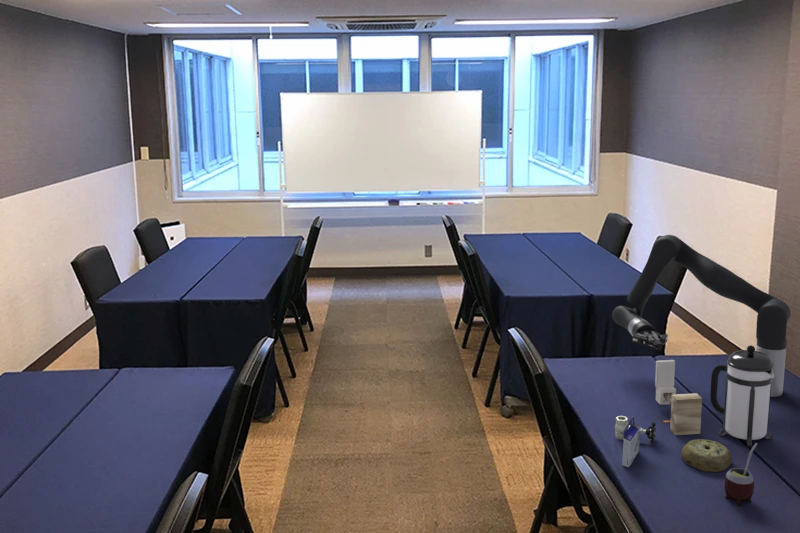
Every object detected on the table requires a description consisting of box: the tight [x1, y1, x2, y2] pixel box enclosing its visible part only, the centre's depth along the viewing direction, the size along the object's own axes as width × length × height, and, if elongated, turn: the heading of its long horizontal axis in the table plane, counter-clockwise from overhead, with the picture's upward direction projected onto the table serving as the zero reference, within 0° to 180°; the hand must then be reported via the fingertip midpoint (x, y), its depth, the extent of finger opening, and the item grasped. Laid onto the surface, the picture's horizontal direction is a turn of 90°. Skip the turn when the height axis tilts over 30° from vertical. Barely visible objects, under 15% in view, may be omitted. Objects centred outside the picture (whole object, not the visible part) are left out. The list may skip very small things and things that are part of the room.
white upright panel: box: [654, 359, 677, 406], centre depth 245 cm, size 4×6×14 cm, turn 92°
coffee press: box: [709, 345, 774, 448], centre depth 224 cm, size 17×16×30 cm
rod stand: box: [662, 392, 703, 436], centre depth 239 cm, size 23×8×12 cm, turn 2°
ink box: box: [621, 415, 641, 468], centre depth 215 cm, size 12×2×12 cm, turn 148°
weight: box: [680, 438, 733, 473], centre depth 213 cm, size 14×14×5 cm
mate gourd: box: [724, 442, 758, 507], centre depth 191 cm, size 8×8×15 cm
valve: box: [614, 415, 657, 444], centre depth 227 cm, size 7×7×12 cm
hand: (659, 346), depth 249 cm, fingers closed
